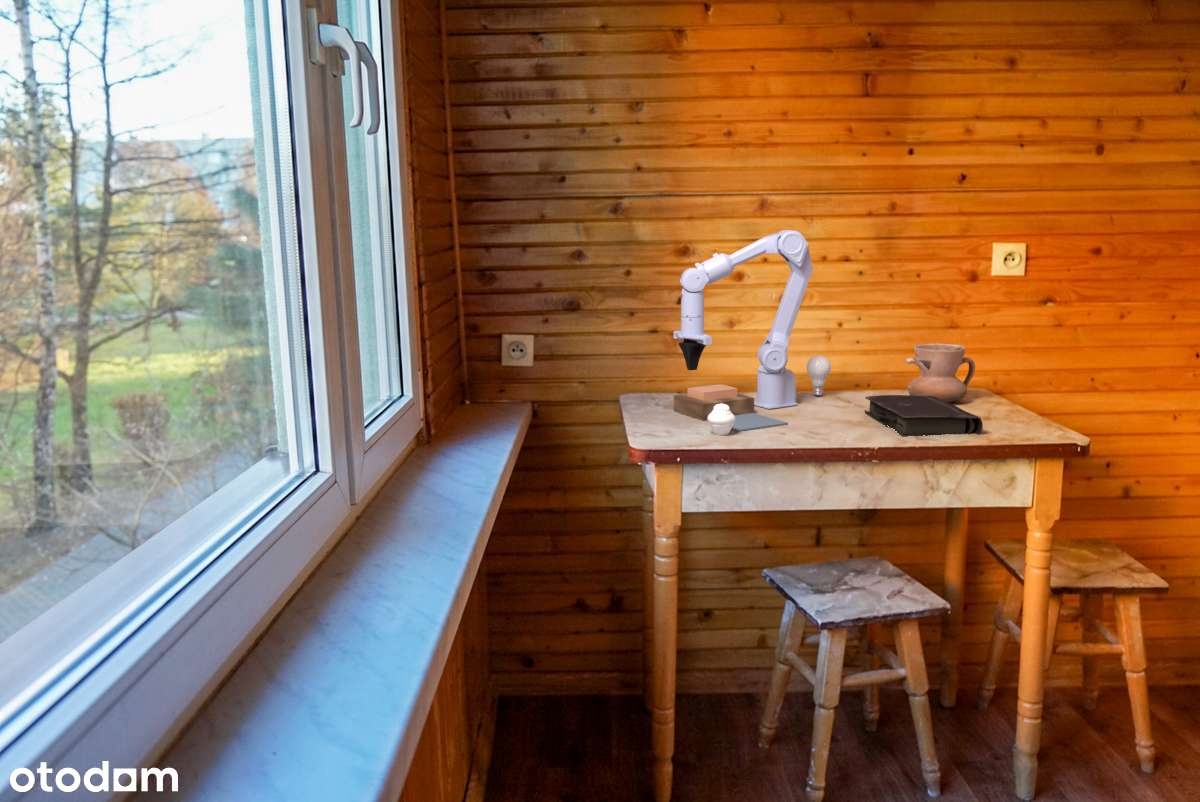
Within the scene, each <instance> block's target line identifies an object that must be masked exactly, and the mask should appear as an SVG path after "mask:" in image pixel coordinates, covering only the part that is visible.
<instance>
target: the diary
mask: <svg viewBox="0 0 1200 802" xmlns="http://www.w3.org/2000/svg"><path fill="white" fill-rule="evenodd" d="M864 398H865V400H868V401H869V410H866V409H864V414H866V415H867V416H868V417H870V418H872V419H873V420H875V421H877V423H880V424H882V425H883V426H884V425H885V426H884V427H886V428H887V427H888V426H889V428H890V429H891V428H893V429H895V431H897V433H899V434H898V435H899V436H900V435H901V436H900V437H902V438H903V437H907V438H908V436H914V437H931V436H930V435H942V434H943V435H945V434H949V435H964V434H966V435H969V436H971V433H974V434H976V435H978V436H979V435H981V433H982V431H983V426H984V424H983V421H982V418H981V417H980V416H979V415H976V414H973V413H970V412H968V411H965V410H963V409H962V408H960V407H958V406H956V405H954V404H952V403H951V402H949V403H947V402H944V401H942V400H941V399H939V398H937V397H935V396H911V395H910V394H907V395H906V394H882V395H881V394H880V395H867V396H865V397H864ZM887 425H888V426H887ZM893 429H892V430H893ZM895 431H894V432H895ZM897 433H896V434H897ZM923 435H925V436H923ZM928 435H929V436H928ZM945 436H946V435H945Z"/></svg>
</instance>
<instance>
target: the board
mask: <svg viewBox="0 0 1200 802" xmlns="http://www.w3.org/2000/svg"><path fill="white" fill-rule="evenodd" d="M754 401H755V397H754V396H753V397H752V396H749V395H746V394H742V393H738V392H737V397H729V398H721V399H713V400H705V401H703V400H700V399H696V398H693V397H689V396H688V393H683V394H674V395H673V412H675V413H678V414H680V415H685V416H687V417H691V418H694V419H697V420H700V421H702V422H704V421H706V419H708V415H709V414H710V413H712V411H713V410H714V406H715V405H717V404H721V403H722V404H726V405H728V406H729V408H730V411H731V413H732V414H733V415H741V414H749V413H755V405H754Z"/></svg>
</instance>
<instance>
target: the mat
mask: <svg viewBox="0 0 1200 802" xmlns="http://www.w3.org/2000/svg"><path fill="white" fill-rule="evenodd" d="M734 416H735V421H734V425H733V427H732V428H731V430H732V429H733V431H735V430H736V431H735V432H744V431H753V430H760V428H761V429H765V428H766V427H767V428H773V427H772V426H774V427H780V426H779V425H781V426H786V424H788V425H789V422H786V421H783V420H780V419H775V418H773V417H769V416H766V415H762V414H758V413H756V412H754V413H749V414H741V415H734ZM705 421H706V422H708V423H709V421H708V419H706V420H705Z"/></svg>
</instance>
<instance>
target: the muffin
mask: <svg viewBox="0 0 1200 802" xmlns="http://www.w3.org/2000/svg"><path fill="white" fill-rule="evenodd" d="M708 421H709V422H708ZM708 421H707V422H708V425H709V427H710V428H711V430H712V432H713V434H714V435H715V434H717V435H716V436H728V435H729V433H730V432H731V430H732V429H731V428H732V427H733V425H734V421H735V416H734V415H733V414H732V413H731V411H730V408H729V406H728V405H726V404H722V403H721V404H717V405H715V406H714V410H713V411H712V413H710V414H709V415H708ZM727 434H728V435H727Z"/></svg>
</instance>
